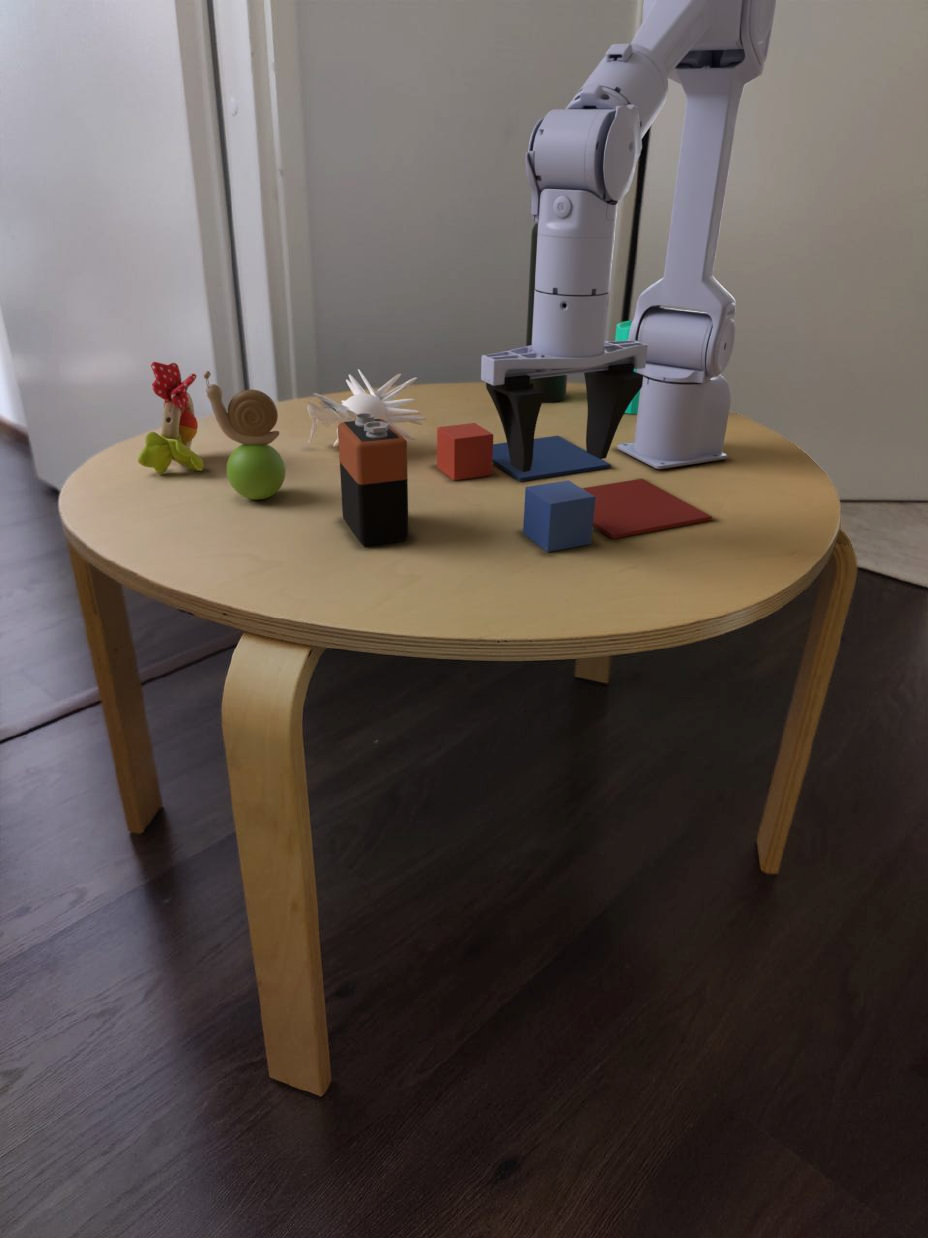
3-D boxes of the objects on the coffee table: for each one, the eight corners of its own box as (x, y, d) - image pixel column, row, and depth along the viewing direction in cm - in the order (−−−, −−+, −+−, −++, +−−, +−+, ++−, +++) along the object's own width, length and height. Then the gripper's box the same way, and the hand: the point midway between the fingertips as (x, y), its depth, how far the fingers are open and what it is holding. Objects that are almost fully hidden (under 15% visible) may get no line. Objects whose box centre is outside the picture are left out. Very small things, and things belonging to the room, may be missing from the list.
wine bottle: (568, 393, 119) (586, 146, 105) (562, 403, 114) (581, 146, 100) (527, 389, 120) (540, 145, 106) (520, 400, 116) (532, 145, 101)
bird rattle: (155, 478, 93) (132, 471, 84) (150, 373, 92) (126, 355, 83) (214, 477, 94) (197, 471, 85) (210, 373, 93) (192, 355, 84)
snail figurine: (224, 488, 85) (208, 364, 79) (290, 487, 86) (279, 364, 80) (215, 508, 80) (197, 379, 75) (284, 507, 81) (272, 378, 75)
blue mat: (557, 438, 101) (558, 435, 101) (610, 467, 92) (610, 464, 92) (473, 450, 97) (473, 446, 97) (520, 481, 88) (520, 477, 88)
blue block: (565, 525, 78) (568, 479, 76) (591, 544, 75) (596, 496, 73) (522, 533, 77) (525, 486, 74) (547, 552, 73) (550, 504, 71)
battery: (361, 548, 73) (356, 433, 68) (341, 519, 79) (335, 411, 74) (410, 541, 75) (408, 428, 70) (387, 513, 80) (384, 406, 75)
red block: (473, 462, 93) (474, 422, 91) (492, 475, 90) (493, 433, 88) (436, 467, 92) (436, 426, 89) (454, 480, 88) (454, 438, 86)
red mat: (641, 482, 89) (642, 478, 88) (711, 520, 80) (712, 516, 80) (549, 497, 84) (549, 493, 84) (612, 539, 76) (612, 534, 76)
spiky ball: (293, 454, 98) (278, 380, 93) (382, 426, 104) (372, 355, 99) (342, 480, 90) (329, 402, 85) (435, 448, 96) (428, 373, 91)
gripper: (617, 278, 72) (601, 437, 79) (463, 288, 66) (460, 459, 73) (672, 290, 67) (650, 460, 73) (510, 302, 61) (503, 485, 67)
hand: (559, 461), depth 73 cm, fingers open, 7 cm apart
